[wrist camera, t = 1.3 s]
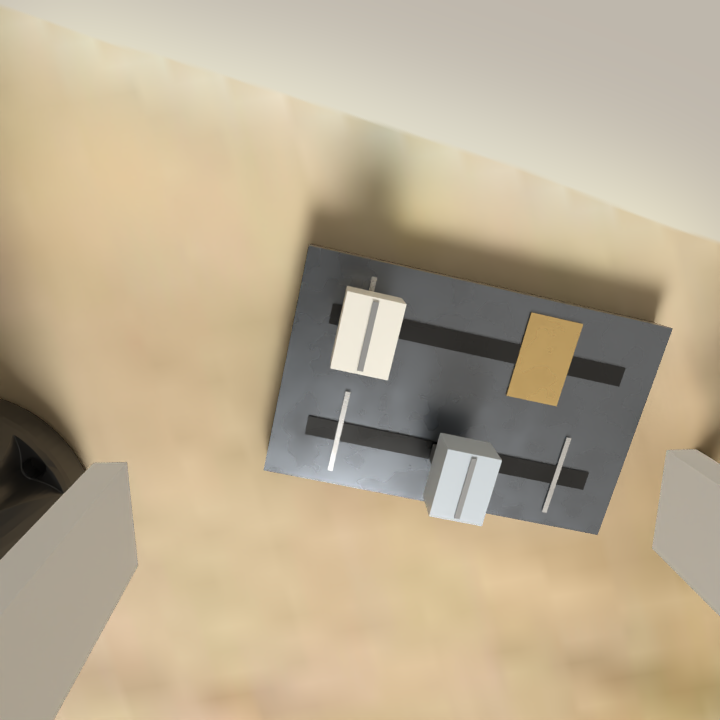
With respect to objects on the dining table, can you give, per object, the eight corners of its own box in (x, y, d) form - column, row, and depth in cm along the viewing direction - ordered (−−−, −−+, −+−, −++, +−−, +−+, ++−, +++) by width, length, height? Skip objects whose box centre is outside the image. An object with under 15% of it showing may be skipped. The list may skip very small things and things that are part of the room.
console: (267, 457, 36) (263, 471, 34) (310, 244, 33) (308, 245, 31) (584, 518, 38) (598, 536, 36) (654, 322, 35) (674, 328, 33)
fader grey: (418, 479, 35) (429, 517, 30) (434, 420, 34) (448, 449, 29) (464, 488, 35) (482, 527, 30) (482, 430, 34) (502, 460, 29)
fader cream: (331, 349, 32) (330, 368, 28) (346, 281, 31) (347, 291, 27) (381, 359, 33) (387, 381, 28) (398, 293, 32) (406, 304, 27)
